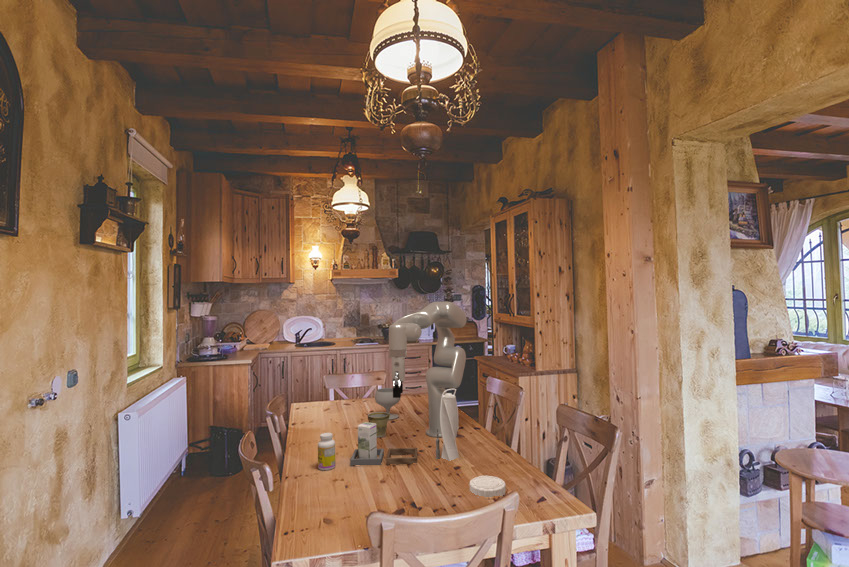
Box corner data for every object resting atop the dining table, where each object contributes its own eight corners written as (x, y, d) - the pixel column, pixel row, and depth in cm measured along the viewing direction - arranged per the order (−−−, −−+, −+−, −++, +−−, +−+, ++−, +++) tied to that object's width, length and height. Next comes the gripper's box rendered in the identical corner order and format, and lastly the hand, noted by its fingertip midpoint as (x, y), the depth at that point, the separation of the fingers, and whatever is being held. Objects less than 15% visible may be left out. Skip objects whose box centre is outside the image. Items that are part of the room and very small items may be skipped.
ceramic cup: (379, 440, 202) (378, 418, 203) (363, 436, 209) (363, 415, 209) (397, 433, 213) (397, 412, 213) (382, 429, 219) (381, 409, 219)
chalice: (399, 420, 235) (399, 392, 235) (373, 421, 235) (373, 392, 235) (401, 413, 249) (401, 387, 249) (376, 414, 249) (376, 387, 249)
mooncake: (481, 503, 139) (481, 491, 139) (463, 488, 150) (462, 478, 150) (513, 495, 144) (512, 484, 144) (493, 482, 155) (492, 471, 155)
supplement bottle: (316, 466, 172) (316, 433, 173) (333, 463, 175) (333, 430, 175) (319, 472, 166) (319, 438, 167) (337, 469, 169) (336, 435, 169)
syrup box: (377, 458, 179) (376, 422, 180) (369, 463, 174) (369, 426, 174) (365, 456, 182) (365, 421, 182) (357, 461, 176) (357, 425, 177)
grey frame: (383, 454, 184) (383, 448, 184) (381, 465, 172) (381, 459, 172) (355, 455, 184) (355, 449, 184) (350, 466, 172) (350, 459, 172)
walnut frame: (417, 453, 184) (417, 447, 184) (416, 464, 172) (416, 458, 172) (388, 454, 184) (388, 448, 184) (386, 465, 172) (386, 458, 172)
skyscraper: (449, 454, 183) (447, 387, 184) (464, 459, 177) (462, 389, 178) (434, 460, 177) (433, 390, 178) (449, 465, 171) (448, 393, 172)
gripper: (405, 355, 175) (405, 399, 174) (408, 351, 192) (408, 391, 191) (386, 356, 175) (386, 399, 174) (390, 351, 192) (391, 391, 191)
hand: (397, 395), depth 183 cm, fingers open, 9 cm apart
